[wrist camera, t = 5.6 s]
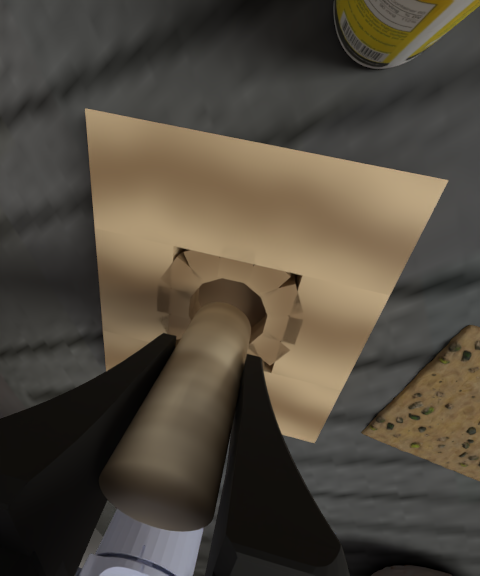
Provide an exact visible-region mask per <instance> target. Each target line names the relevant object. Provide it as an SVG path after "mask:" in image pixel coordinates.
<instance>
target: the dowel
mask: <svg viewBox="0 0 480 576" xmlns="http://www.w3.org/2000/svg"><path fill="white" fill-rule="evenodd" d="M250 336H251V325H250V322H249V320H248V318H247V317H246V315H245V314H244V313H243V312H242V311H241V310H240V309H238V308H237V307H235V306H233V305H230V304H227V303H222V302H214V303H209V304H206V305H204V306H203V307H201V308H200V309H199V310H198V311H197V313H196V314H195V316H194V317H193V319H192V321H191V322H190V324H189V326H188V327H187V329H186V331H185V333H184V334H183V336H182V338H181V339H180V341H179V343H178V344H177V346H176V348H175V349H174V351H173V353H172V354H171V356H170V358H169V359H168V361H167V363H166V365H165V366H164V368H163V370H162V371H161V373H160V375H159V376H158V378H157V380H156V381H155V383H154V385H153V386H152V388H151V390H150V391H149V393H148V395H147V397H146V398H145V400H144V402H143V403H142V405H141V407H140V408H139V410H138V412H137V413H136V415H135V417H134V418H133V420H132V422H131V423H130V425H129V427H128V428H127V430H126V432H125V434H124V435H123V437H122V439H121V440H120V442H119V444H118V445H117V447H116V449H115V450H114V452H113V454H112V455H111V457H110V459H109V460H108V462H107V464H106V466H105V467H104V469H103V471H102V472H101V474H100V477H99V486H100V489H101V491H102V493H103V494H104V496H105V497H106V498H107V500H108V501H109V502H110V503H111V504H112V505H113V506H115V507H116V508H117V509H118V510H120V511H121V512H123V513H124V514H126V515H128V516H129V517H131V518H133V519H135V520H137V521H139V522H141V523H144V524H147V525H149V526H152V527H156V528H160V529H164V530H169V531H181V532H185V531H195V530H199V529H201V528H204V527H205V526H207V525H208V524H209V523H210V522H211V521H212V519H213V517H214V512H215V507H216V503H217V498H218V493H219V488H220V483H221V478H222V473H223V468H224V463H225V458H226V454H227V449H228V444H229V439H230V434H231V429H232V424H233V419H234V414H235V409H236V405H237V400H238V395H239V389H240V383H241V378H242V373H243V368H244V364H245V360H246V356H247V351H248V346H249V341H250Z"/></svg>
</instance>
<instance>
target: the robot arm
mask: <svg viewBox="0 0 480 576" xmlns="http://www.w3.org/2000/svg"><path fill="white" fill-rule="evenodd" d="M176 337H177V336H174V335H170V334H166V333H162V334H161V335H159V336H158V337H157V338H155V339H154V340H152V341H151V342H150V343H148V344H147V345H146V346H144V347H143V348H141V349H140V350H139V351H137V352H136V353H134V354H133V355H131V356H130V357H128V358H127V359H125V360H124V361H122V362H121V363H119V364H117V365H116V366H114V367H112V368H111V369H109V370H108V371H106V372H104V373H103V374H101V375H99V376H97V377H96V378H94V379H92V380H90V381H88V382H86V383H84V384H82V385H80V386H79V387H77V388H75V389H72V390H70V391H68V392H66V393H64V394H62V395H59V396H57V397H55V398H53V399H50V400H48V401H46V402H43V403H41V404H39V405H36V406H34V407H31V408H29V409H26V410H23V411H21V412H18V413H15V414H12V415H10V416H7V417H4V418H1V419H0V576H193V573H194V569H195V564H196V560H197V555H198V551H199V546H200V542H201V538H202V533H203V529H204V528H201V529H199V530H195V531H185V532H181V531H169V530H164V529H160V528H156V527H152V526H149V525H147V524H144V523H141V522H139V521H137V520H135V519H133V518H131V517H129V516H128V515H126V514H124V513H123V512H121V511H120V510H118V509H117V510H116V512H115V514H114V516H113V518H112V520H111V522H110V524H109V526H108V528H107V531H106V533H105V535H104V537H103V539H102V541H101V543H100V545H99V547H98V549H97V551H96V553H95V554H92V553H91V554H89V556H88V558H87V560H86V562H85V564H84V566H83V568H79V565H80V562H81V560H82V557H83V554H84V553H85V550H86V548H87V546H88V543H89V541H90V538H91V536H92V534H93V531H94V529H95V527H96V525H97V522H98V520H99V518H100V515H101V513H102V511H103V509H104V506H105V504H106V502H107V498H106V497H105V496H104V494H103V493H102V491H101V489H100V486H99V477H100V474H101V472H102V471H103V469H104V467H105V466H106V464H107V462H108V460H109V459H110V457H111V455H112V454H113V452H114V450H115V449H116V447H117V445H118V444H119V442H120V440H121V439H122V437H123V435H124V434H125V432H126V430H127V428H128V427H129V425H130V423H131V422H132V420H133V418H134V417H135V415H136V413H137V412H138V410H139V408H140V407H141V405H142V403H143V402H144V400H145V398H146V397H147V395H148V393H149V391H150V390H151V388H152V386H153V385H154V383H155V381H156V380H157V378H158V376H159V375H160V373H161V371H162V370H163V368H164V366H165V365H166V363H167V361H168V359H169V358H170V356H171V354H172V353H173V351H174V349H175V348H176ZM205 576H350V574H349V570H348V566H347V562H346V559H345V555H344V551H343V548H342V545H341V543H340V542H339V540H338V538H337V537H336V535H335V534H334V532H333V531H332V529H331V527H330V526H329V524H328V523H327V521H326V519H325V518H324V516H323V514H322V513H321V511H320V509H319V508H318V506H317V504H316V502H315V501H314V499H313V497H312V495H311V494H310V492H309V490H308V488H307V486H306V484H305V482H304V480H303V478H302V477H301V475H300V473H299V471H298V469H297V467H296V465H295V463H294V461H293V459H292V456H291V454H290V452H289V450H288V448H287V445H286V443H285V441H284V438H283V436H282V433H281V431H280V428H279V425H278V423H277V420H276V417H275V414H274V411H273V408H272V405H271V401H270V397H269V394H268V390H267V386H266V382H265V377H264V371H263V362H262V358H261V357H258V356H254V355H250V354H247V356H246V360H245V364H244V368H243V373H242V378H241V383H240V389H239V395H238V400H237V405H236V409H235V414H234V419H233V424H232V430H231V438H230V446H229V455H228V463H227V469H226V475H225V480H224V485H223V490H222V495H221V500H220V505H219V510H218V515H217V520H216V525H215V530H214V534H213V539H212V544H211V549H210V554H209V559H208V564H207V568H206V573H205Z"/></svg>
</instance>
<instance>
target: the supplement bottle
mask: <svg viewBox="0 0 480 576" xmlns="http://www.w3.org/2000/svg"><path fill="white" fill-rule="evenodd" d="M478 6H480V0H334V22H335V28H336V32H337V35H338V38H339V41H340V43H341V45H342V47H343V49H344V50H345V52H346V53H347V54H348V55H349V56H350V57H351V58H352V59H353V60H354V61H356V62H357V63H359V64H361V65H363V66H365V67H369V68H374V69H385V68H391V67H395V66H398V65H401V64H403V63H405V62H408V61H410V60H411V59H413V58H415V57H416V56H418V55H420V54H421V53H422V52H424V51H425V50H426V49H428V48H429V47H430V46H431V45H433V44H434V43H435V42H436V41H437V40H438V39H440V38H441V37H442V36H443V35H445V34H446V33H447V32H448V31H449V30H450V29H452V28H453V27H454V26H455V25H457V24H458V23H459V22H460V21H461V20H463V19H464V18H465V17H466V16H467V15H469V14H470V13H471V12H473V11H474V10H475V9H476V8H477V7H478Z"/></svg>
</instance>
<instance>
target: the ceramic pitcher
mask: <svg viewBox="0 0 480 576" xmlns="http://www.w3.org/2000/svg"><path fill="white" fill-rule="evenodd" d="M371 576H452V575H451V574H448V573H445V572H441V571H437V570H433V569H430V568H426V567H420V566H413V565H405V566H391V567H385V568H384V569H382V570H378V571H377V572H375V573H373V574H372V575H371Z"/></svg>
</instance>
